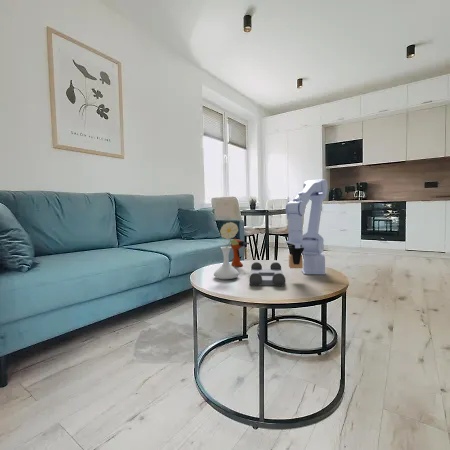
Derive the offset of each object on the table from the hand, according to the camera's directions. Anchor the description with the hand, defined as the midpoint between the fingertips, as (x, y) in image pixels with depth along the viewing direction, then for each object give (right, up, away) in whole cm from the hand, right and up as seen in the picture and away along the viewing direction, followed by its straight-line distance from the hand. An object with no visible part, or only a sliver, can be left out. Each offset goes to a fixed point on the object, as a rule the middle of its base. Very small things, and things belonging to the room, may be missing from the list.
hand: (295, 263), depth 115 cm
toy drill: (-21, -6, +30) cm, 38 cm away
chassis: (-11, -8, +5) cm, 14 cm away
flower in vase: (-28, -8, +7) cm, 30 cm away
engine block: (0, -2, 0) cm, 2 cm away
